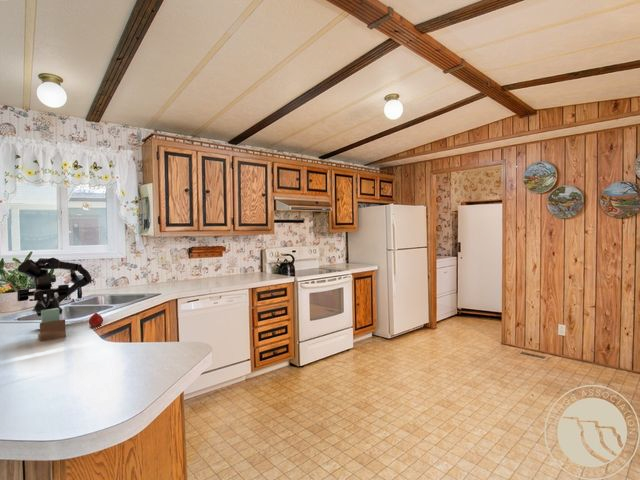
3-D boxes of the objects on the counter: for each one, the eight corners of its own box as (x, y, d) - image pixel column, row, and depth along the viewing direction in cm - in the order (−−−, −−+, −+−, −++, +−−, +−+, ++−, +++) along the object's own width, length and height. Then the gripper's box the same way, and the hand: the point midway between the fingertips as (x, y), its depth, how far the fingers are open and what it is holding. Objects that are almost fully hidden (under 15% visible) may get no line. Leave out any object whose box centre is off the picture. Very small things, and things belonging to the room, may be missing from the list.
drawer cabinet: (36, 337, 154) (35, 317, 154) (59, 333, 160) (59, 314, 160) (40, 344, 144) (39, 323, 144) (66, 339, 151) (65, 319, 150)
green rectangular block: (42, 337, 150) (40, 310, 150) (59, 334, 155) (57, 307, 154) (43, 338, 148) (41, 311, 148) (60, 335, 152) (59, 308, 152)
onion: (86, 329, 166) (85, 312, 166) (98, 326, 171) (98, 310, 171) (93, 330, 163) (92, 314, 163) (105, 327, 168) (105, 311, 168)
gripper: (16, 271, 153) (20, 299, 146) (67, 267, 167) (73, 293, 159) (15, 287, 159) (19, 315, 152) (65, 282, 172) (70, 307, 165)
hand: (46, 307), depth 157 cm, fingers closed
